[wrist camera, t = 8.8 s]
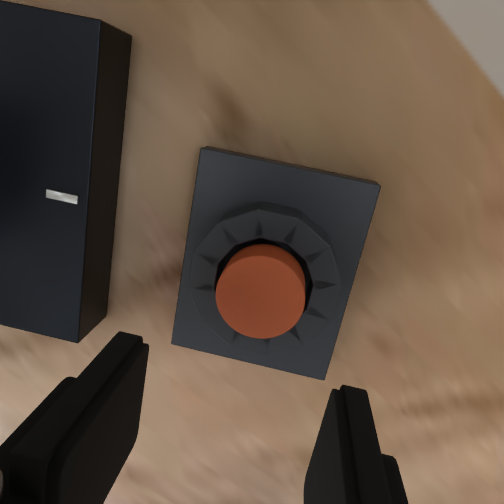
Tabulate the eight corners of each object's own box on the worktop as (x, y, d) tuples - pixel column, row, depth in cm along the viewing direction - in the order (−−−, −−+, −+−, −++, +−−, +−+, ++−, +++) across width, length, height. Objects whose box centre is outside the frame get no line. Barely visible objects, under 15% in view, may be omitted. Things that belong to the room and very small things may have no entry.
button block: (206, 145, 19) (189, 149, 17) (376, 181, 19) (389, 191, 16) (177, 333, 23) (158, 363, 20) (323, 368, 22) (326, 404, 19)
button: (230, 235, 18) (223, 246, 16) (313, 253, 18) (314, 266, 16) (217, 310, 19) (208, 327, 17) (295, 328, 19) (294, 348, 17)
